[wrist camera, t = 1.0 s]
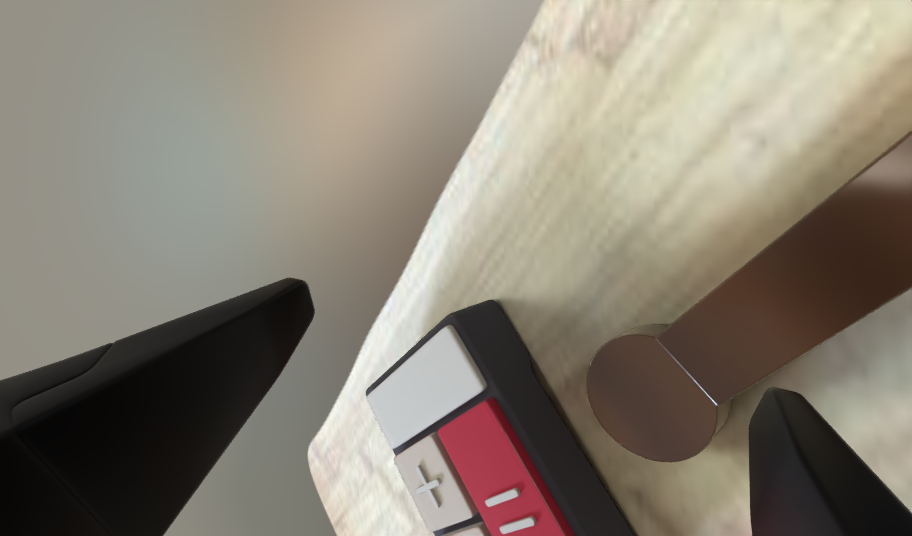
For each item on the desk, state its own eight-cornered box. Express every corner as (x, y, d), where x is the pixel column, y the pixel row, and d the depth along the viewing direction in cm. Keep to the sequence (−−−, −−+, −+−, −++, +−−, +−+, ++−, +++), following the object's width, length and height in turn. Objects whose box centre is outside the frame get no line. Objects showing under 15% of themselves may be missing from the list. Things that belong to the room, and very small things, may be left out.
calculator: (471, 638, 25) (353, 396, 29) (515, 586, 28) (403, 374, 32) (625, 629, 18) (441, 313, 22) (661, 561, 21) (494, 295, 25)
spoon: (984, 23, 12) (1002, -12, 10) (1222, 141, 10) (1309, 128, 8) (586, 366, 22) (552, 384, 20) (663, 462, 20) (635, 495, 18)
